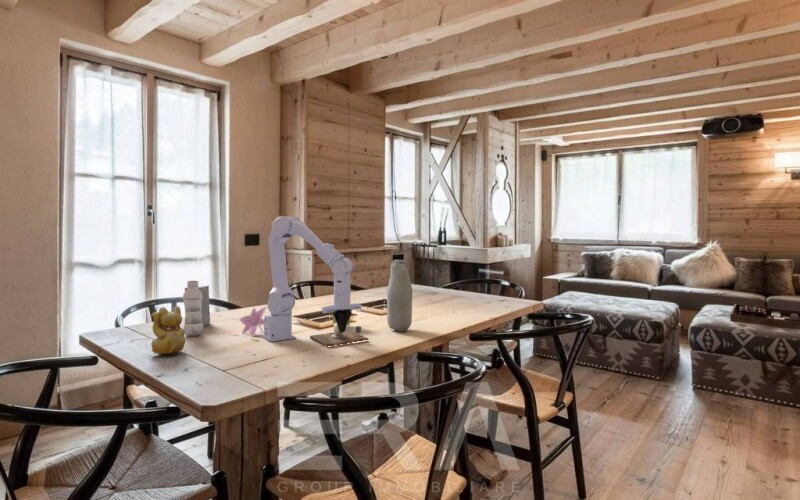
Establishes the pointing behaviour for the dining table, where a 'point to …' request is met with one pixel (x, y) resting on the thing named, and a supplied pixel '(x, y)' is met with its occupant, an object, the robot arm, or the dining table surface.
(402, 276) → the grey water bottle
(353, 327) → the gray-tipped lever post
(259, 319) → the lily
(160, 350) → the decorative figurine
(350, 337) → the brown rectangular board
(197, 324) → the plastic bottle
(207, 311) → the skincare box
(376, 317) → the dining table surface
